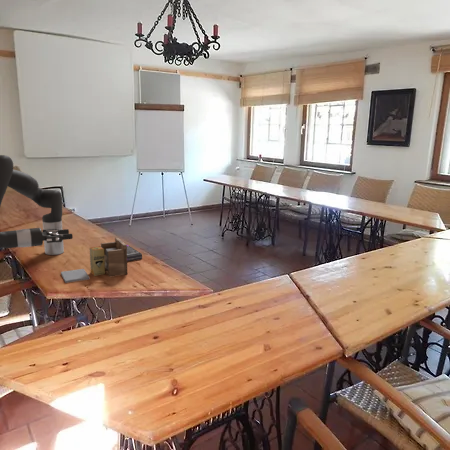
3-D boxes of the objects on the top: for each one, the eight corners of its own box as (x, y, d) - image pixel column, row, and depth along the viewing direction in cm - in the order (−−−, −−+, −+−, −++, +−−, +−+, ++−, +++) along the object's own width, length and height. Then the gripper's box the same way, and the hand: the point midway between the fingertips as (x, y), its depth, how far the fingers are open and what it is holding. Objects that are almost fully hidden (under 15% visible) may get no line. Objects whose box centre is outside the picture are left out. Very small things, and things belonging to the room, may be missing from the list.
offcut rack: (101, 267, 191) (100, 239, 188) (118, 264, 195) (117, 237, 192) (109, 276, 179) (108, 247, 176) (127, 274, 183) (126, 245, 180)
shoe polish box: (105, 273, 183) (104, 248, 180) (94, 275, 180) (93, 250, 177) (101, 270, 187) (100, 246, 184) (90, 272, 184) (89, 247, 181)
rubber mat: (61, 273, 181) (60, 271, 181) (83, 270, 186) (83, 268, 186) (65, 282, 171) (65, 280, 171) (89, 279, 176) (89, 277, 176)
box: (102, 254, 212) (116, 264, 197) (102, 248, 212) (116, 257, 196) (127, 250, 220) (142, 259, 205) (127, 244, 220) (142, 253, 204)
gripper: (30, 232, 158) (73, 229, 166) (26, 225, 170) (67, 222, 178) (31, 250, 160) (74, 246, 168) (28, 242, 172) (67, 238, 180)
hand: (70, 233), depth 173 cm, fingers open, 8 cm apart
